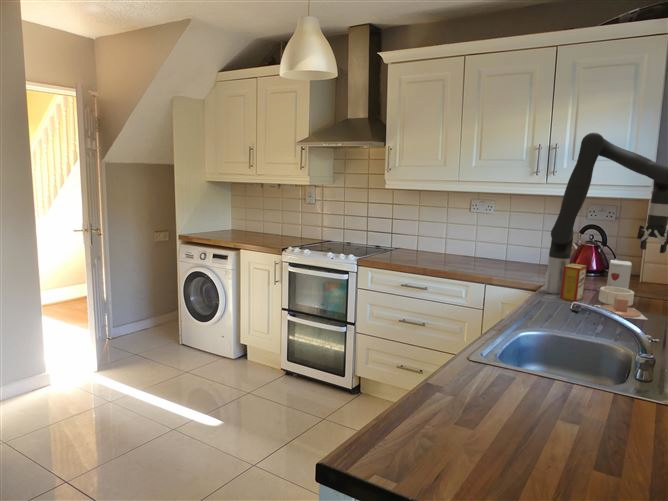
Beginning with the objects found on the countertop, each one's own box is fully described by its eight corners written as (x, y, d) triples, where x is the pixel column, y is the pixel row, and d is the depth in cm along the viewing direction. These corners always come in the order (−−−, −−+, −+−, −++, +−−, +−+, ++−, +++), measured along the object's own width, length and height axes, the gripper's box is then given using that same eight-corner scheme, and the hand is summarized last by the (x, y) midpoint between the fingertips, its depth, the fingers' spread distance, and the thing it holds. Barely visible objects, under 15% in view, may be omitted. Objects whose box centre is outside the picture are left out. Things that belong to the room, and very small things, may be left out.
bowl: (603, 305, 218) (605, 292, 217) (595, 298, 231) (597, 285, 230) (636, 308, 216) (638, 295, 214) (626, 300, 228) (628, 287, 227)
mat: (603, 316, 202) (604, 315, 202) (593, 306, 217) (593, 304, 217) (647, 321, 198) (648, 319, 198) (634, 309, 213) (634, 308, 213)
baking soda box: (575, 302, 222) (579, 267, 219) (560, 299, 226) (564, 265, 223) (582, 299, 228) (587, 264, 226) (568, 296, 233) (572, 262, 230)
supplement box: (606, 292, 242) (610, 262, 239) (606, 288, 250) (610, 259, 247) (627, 295, 238) (632, 264, 235) (627, 291, 245) (631, 261, 243)
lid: (605, 315, 202) (606, 301, 201) (595, 305, 216) (597, 292, 215) (646, 319, 199) (648, 305, 198) (633, 308, 213) (635, 295, 212)
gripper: (637, 212, 219) (631, 248, 222) (669, 216, 206) (662, 254, 209) (648, 212, 222) (643, 248, 225) (681, 216, 209) (674, 254, 212)
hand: (652, 251), depth 217 cm, fingers open, 8 cm apart
